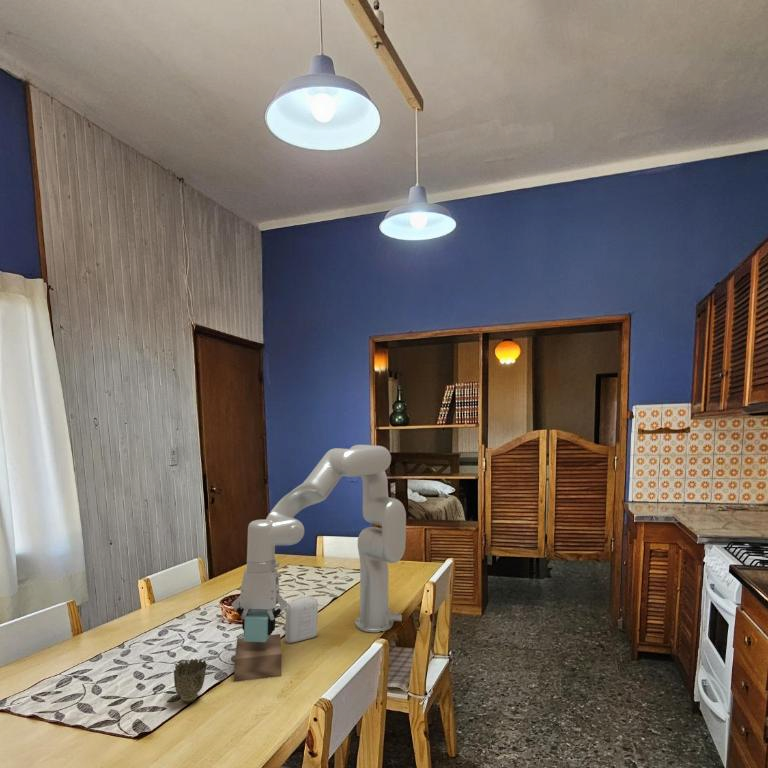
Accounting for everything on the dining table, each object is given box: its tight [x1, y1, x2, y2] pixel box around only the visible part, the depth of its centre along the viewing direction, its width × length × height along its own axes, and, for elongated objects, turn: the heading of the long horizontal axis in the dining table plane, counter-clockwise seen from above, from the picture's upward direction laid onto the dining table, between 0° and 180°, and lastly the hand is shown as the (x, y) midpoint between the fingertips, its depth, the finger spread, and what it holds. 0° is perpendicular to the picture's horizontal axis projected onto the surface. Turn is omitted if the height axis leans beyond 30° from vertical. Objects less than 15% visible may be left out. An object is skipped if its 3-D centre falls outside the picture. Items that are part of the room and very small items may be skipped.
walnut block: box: [233, 633, 283, 683], centre depth 130 cm, size 12×12×6 cm
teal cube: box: [243, 609, 270, 642], centre depth 131 cm, size 6×6×6 cm
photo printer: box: [284, 595, 319, 644], centre depth 148 cm, size 10×4×12 cm, turn 123°
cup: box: [173, 658, 208, 704], centre depth 115 cm, size 8×7×8 cm
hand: (258, 632), depth 131 cm, fingers closed on teal cube, 6 cm apart
